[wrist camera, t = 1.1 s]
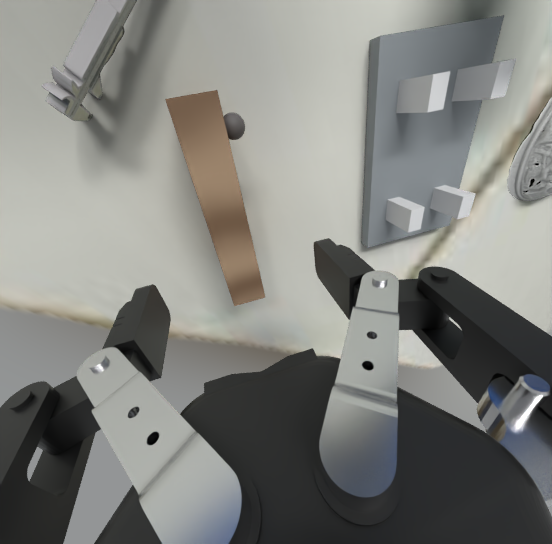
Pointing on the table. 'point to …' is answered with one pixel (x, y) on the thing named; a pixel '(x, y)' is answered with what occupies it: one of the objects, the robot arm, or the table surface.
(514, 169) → the oval brooch
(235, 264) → the cabinet door
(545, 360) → the robot arm
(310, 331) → the table surface
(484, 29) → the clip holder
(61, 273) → the table surface
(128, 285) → the table surface
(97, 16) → the caliper
